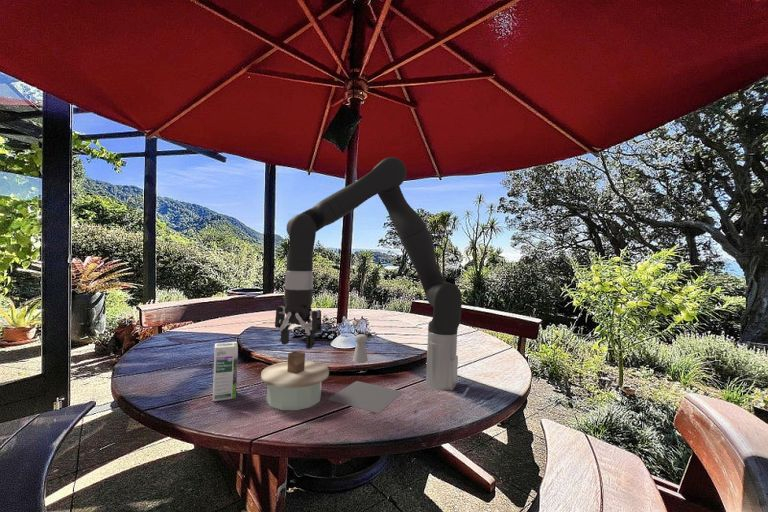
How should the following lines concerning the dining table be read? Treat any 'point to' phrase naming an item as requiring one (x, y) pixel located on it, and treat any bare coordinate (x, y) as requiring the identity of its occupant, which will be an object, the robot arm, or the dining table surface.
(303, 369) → the lid
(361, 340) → the salt shaker
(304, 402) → the bowl
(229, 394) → the syrup box
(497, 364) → the dining table surface
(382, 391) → the mat
